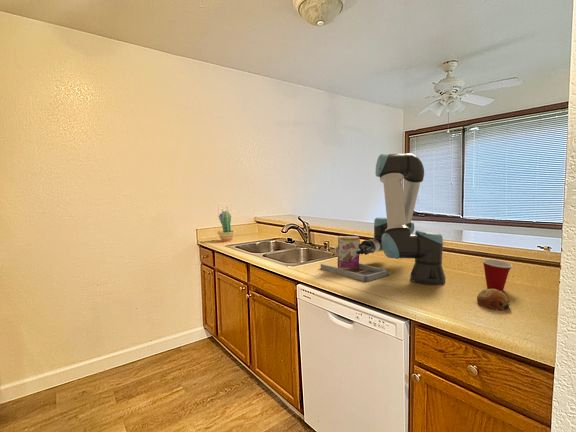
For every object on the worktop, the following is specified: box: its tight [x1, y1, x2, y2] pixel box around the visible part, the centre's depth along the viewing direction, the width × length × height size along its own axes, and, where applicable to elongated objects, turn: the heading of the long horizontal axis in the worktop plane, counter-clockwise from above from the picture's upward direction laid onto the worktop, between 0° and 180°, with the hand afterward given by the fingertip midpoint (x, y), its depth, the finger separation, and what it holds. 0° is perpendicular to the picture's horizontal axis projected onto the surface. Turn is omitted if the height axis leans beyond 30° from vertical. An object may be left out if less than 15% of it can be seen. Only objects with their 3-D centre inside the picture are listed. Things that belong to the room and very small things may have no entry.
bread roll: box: [476, 288, 511, 311], centre depth 115 cm, size 10×10×8 cm
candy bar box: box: [337, 235, 361, 269], centre depth 165 cm, size 11×5×16 cm, turn 84°
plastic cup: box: [482, 258, 513, 292], centre depth 133 cm, size 11×11×12 cm
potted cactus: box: [217, 210, 237, 243], centre depth 258 cm, size 15×16×25 cm
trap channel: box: [320, 262, 390, 283], centre depth 162 cm, size 31×18×2 cm, turn 38°
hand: (343, 251), depth 162 cm, fingers closed on candy bar box, 11 cm apart
